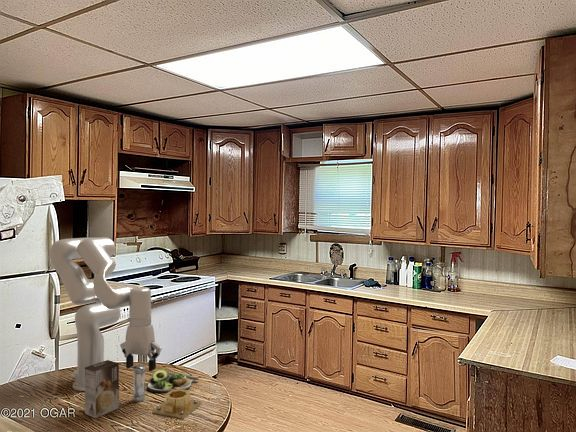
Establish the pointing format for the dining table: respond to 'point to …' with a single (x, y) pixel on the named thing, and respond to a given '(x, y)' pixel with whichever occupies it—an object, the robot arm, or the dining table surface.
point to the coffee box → (101, 388)
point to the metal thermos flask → (139, 383)
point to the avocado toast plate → (169, 381)
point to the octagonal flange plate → (177, 404)
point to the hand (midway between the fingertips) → (140, 368)
